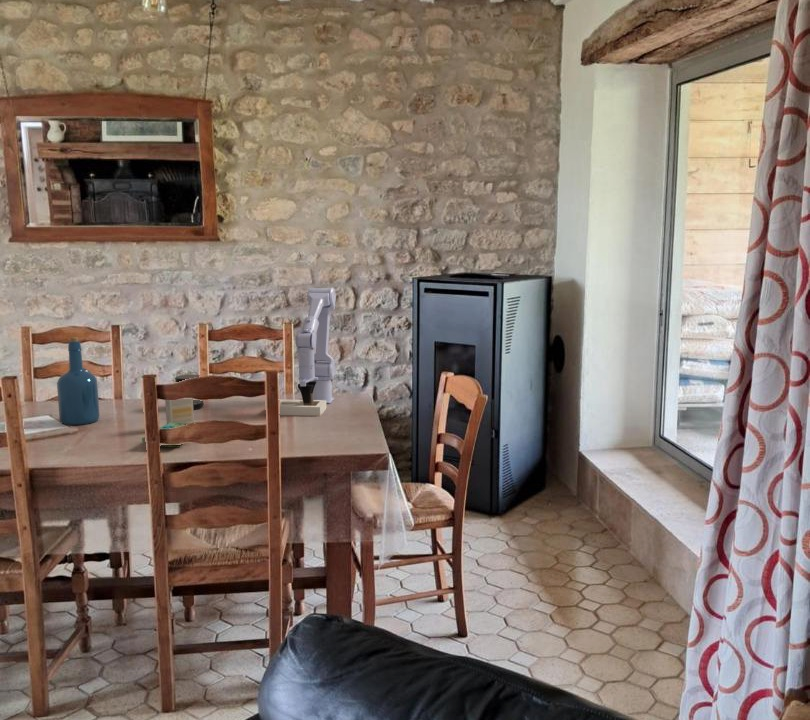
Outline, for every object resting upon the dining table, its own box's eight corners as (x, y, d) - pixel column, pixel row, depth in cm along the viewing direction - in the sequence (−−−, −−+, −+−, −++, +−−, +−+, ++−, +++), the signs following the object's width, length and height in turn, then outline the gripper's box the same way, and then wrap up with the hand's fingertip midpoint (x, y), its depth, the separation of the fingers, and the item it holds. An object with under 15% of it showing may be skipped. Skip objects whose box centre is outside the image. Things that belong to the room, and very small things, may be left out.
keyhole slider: (302, 408, 303) (302, 392, 302) (317, 408, 303) (317, 392, 302) (299, 411, 298) (298, 395, 297) (314, 411, 297) (314, 395, 296)
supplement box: (189, 425, 281) (187, 387, 279) (194, 427, 278) (192, 390, 275) (166, 428, 277) (164, 390, 275) (170, 431, 273) (168, 393, 271)
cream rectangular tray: (274, 407, 307) (273, 399, 307) (326, 408, 306) (326, 400, 305) (265, 415, 296) (265, 406, 295) (320, 415, 294) (320, 407, 293)
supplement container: (178, 405, 313) (177, 374, 311) (206, 404, 314) (204, 373, 312) (172, 411, 303) (170, 379, 301) (201, 410, 303) (199, 379, 302)
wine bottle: (92, 426, 281) (85, 339, 276) (53, 426, 281) (46, 340, 276) (106, 416, 294) (100, 334, 290) (69, 417, 294) (63, 334, 289)
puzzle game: (203, 421, 268) (177, 436, 249) (204, 435, 269) (178, 451, 249) (170, 420, 270) (141, 435, 250) (171, 434, 271) (142, 450, 251)
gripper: (313, 369, 290) (314, 406, 292) (321, 362, 304) (322, 398, 306) (293, 368, 291) (294, 406, 293) (302, 362, 305) (303, 397, 307)
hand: (307, 402), depth 300 cm, fingers closed on keyhole slider, 3 cm apart
